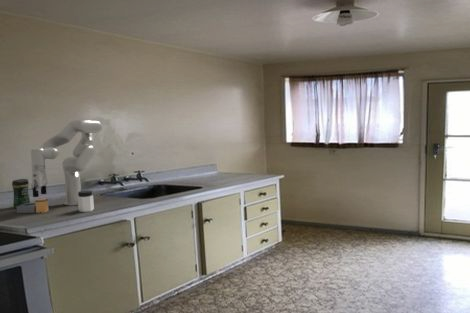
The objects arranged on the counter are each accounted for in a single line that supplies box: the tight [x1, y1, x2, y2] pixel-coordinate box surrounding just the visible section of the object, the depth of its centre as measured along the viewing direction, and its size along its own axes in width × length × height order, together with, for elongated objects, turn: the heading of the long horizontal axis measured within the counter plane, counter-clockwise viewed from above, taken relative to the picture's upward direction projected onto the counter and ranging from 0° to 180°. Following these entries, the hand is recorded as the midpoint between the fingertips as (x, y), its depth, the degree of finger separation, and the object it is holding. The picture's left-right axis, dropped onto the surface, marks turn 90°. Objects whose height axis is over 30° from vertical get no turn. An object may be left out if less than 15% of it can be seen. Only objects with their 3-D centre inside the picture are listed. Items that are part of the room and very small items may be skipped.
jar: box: [77, 189, 95, 213], centre depth 245 cm, size 9×8×12 cm
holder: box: [15, 201, 36, 214], centre depth 249 cm, size 11×11×4 cm
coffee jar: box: [11, 178, 31, 209], centre depth 259 cm, size 10×8×19 cm
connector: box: [34, 197, 50, 214], centre depth 245 cm, size 6×4×8 cm
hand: (39, 195), depth 243 cm, fingers open, 9 cm apart
